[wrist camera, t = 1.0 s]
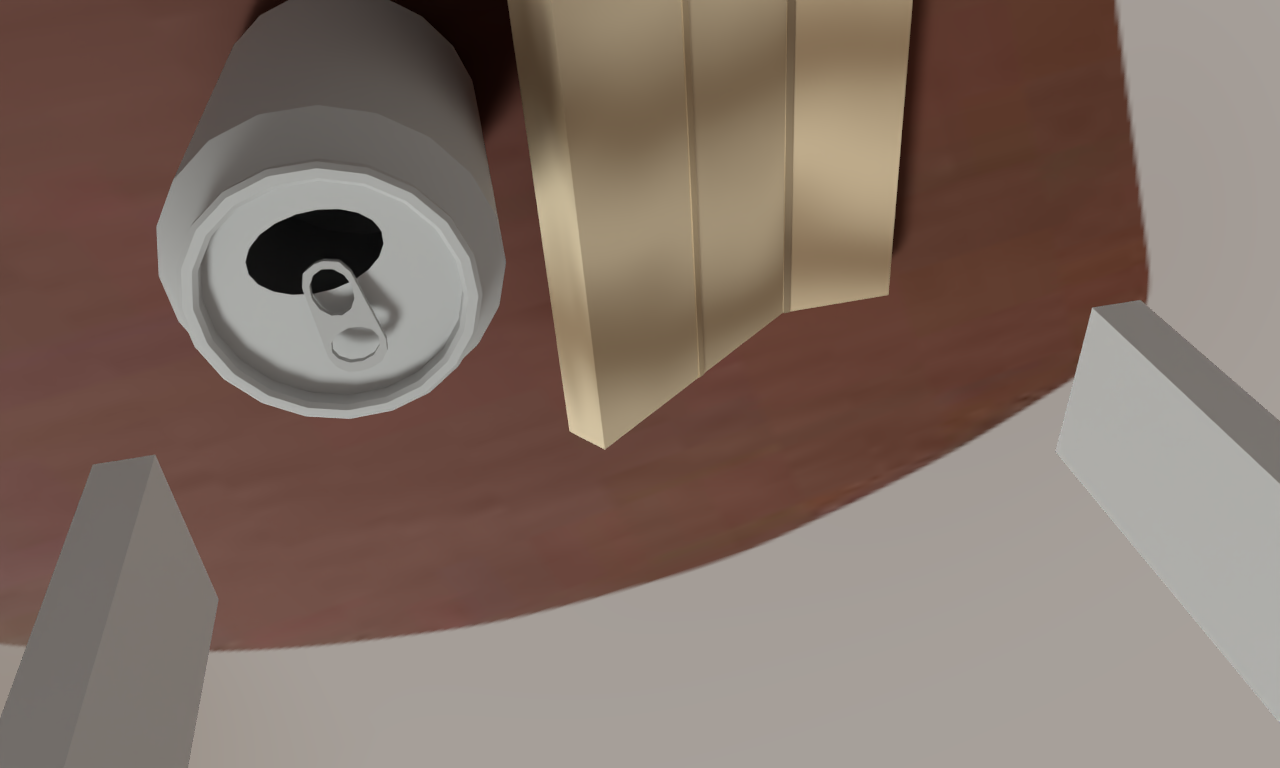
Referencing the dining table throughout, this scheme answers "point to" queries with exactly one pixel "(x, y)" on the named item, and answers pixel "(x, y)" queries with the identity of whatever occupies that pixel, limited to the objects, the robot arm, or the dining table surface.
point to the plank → (653, 189)
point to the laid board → (842, 147)
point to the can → (335, 212)
